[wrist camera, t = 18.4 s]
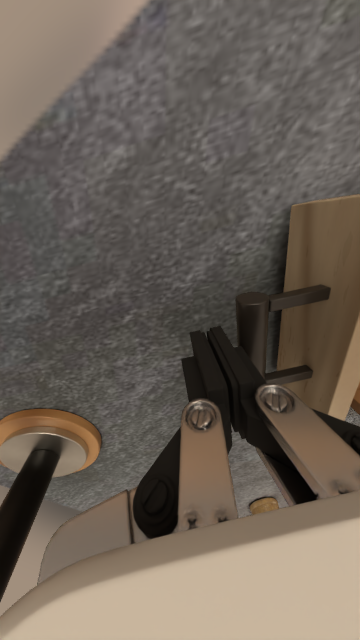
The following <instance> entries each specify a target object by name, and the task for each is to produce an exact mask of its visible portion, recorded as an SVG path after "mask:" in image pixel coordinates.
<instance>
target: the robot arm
mask: <svg viewBox="0 0 360 640" xmlns="http://www.w3.org/2000/svg"><path fill="white" fill-rule="evenodd" d="M190 337H191V342H192V348H193V353H194V356H193V357H188V358H183V359H181V360H182V366H183V371H184V377H185V382H186V388H187V393H188V399H189V403H188V404H187V405H186V406H185V407H184V409H183V411H182V416H181V427H180V428H179V430H178V431H177V432H176V434H175V435H174V436H173V438H172V439H171V440H170V442H169V443H168V445H167V446H166V447H165V449H164V450H163V451H162V453H161V454H160V455H159V457H158V458H157V460H156V461H155V462H154V464H153V465H152V466H151V468H150V469H149V471H148V472H147V473H146V475H145V476H144V477H143V479H142V480H141V482H140V483H139V485H138V487H136V488H134V489H132V490H130V491H128V490H127V489H126V490H124V491H122V492H120V493H118V494H117V495H115V496H113V497H111V498H109V499H107V500H105V501H103V502H101V503H99V504H98V505H96V506H94V507H92V508H90V509H88V510H86V511H84V512H82V513H81V514H79V515H77V516H75V517H73V518H71V519H69V520H68V521H66V522H65V523H64V524H63V525H61V526H60V527H59V529H58V530H57V531H56V532H55V533H54V535H53V536H52V538H51V540H50V542H49V543H48V545H47V547H46V550H45V553H44V556H43V559H42V563H41V568H40V573H39V578H38V583H37V586H36V587H34V588H33V589H31V590H30V591H29V592H28V593H26V594H25V595H24V596H23V597H22V598H20V599H19V600H18V601H17V602H16V603H14V605H12V606H11V607H10V608H9V609H8V610H7V611H6V612H5V613H4V614H3V615H2V616H1V617H0V640H360V427H358V426H356V425H353V424H351V423H348V422H346V421H343V420H340V419H338V418H335V417H333V416H330V415H328V414H325V413H322V412H320V411H317V410H315V409H312V408H309V407H308V406H307V405H306V404H305V403H304V402H303V401H302V400H301V399H300V398H299V397H298V396H297V395H296V394H295V393H294V392H293V391H291V390H290V389H289V388H287V387H285V386H283V385H280V384H276V383H267V382H266V381H265V379H264V378H263V377H262V375H261V374H260V372H259V371H258V369H257V368H256V366H255V365H254V364H253V362H252V361H251V359H250V358H249V356H248V355H247V354H246V352H245V351H244V349H243V348H242V347H241V346H239V347H233V346H232V344H231V342H230V341H229V339H228V338H227V336H226V334H225V333H224V331H223V330H222V328H221V327H220V326H217V327H213V328H210V331H207V338H206V335H205V333H204V332H202V333H201V332H200V330H199V331H194V332H190ZM207 339H208V340H207ZM231 424H232V427H233V429H234V431H235V432H238V431H239V433H240V436H241V438H242V439H245V438H246V440H247V442H248V443H250V444H251V445H253V446H255V448H256V451H257V453H258V455H259V456H260V458H261V460H262V461H263V463H264V465H265V466H266V468H267V470H268V472H269V473H270V475H271V477H272V478H273V480H274V482H275V483H276V485H277V487H278V488H279V490H280V492H281V493H282V495H283V497H284V499H285V500H286V502H287V504H288V505H289V507H285V508H280V509H276V510H272V511H267V512H263V513H259V514H254V515H250V516H246V517H241V518H238V513H237V507H236V501H235V495H234V489H233V483H232V477H231V472H230V466H229V460H228V454H229V451H230V449H231V447H232V436H231V433H232V431H231Z"/></svg>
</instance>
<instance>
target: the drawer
mask: <svg viewBox="0 0 360 640" xmlns="http://www.w3.org/2000/svg"><path fill="white" fill-rule="evenodd" d="M278 310H282V317H281V328H280V339H279V351H278V362H277V371H274V372H270V373H265V370H266V350H267V331H268V311H269V312H273V311H278ZM236 322H237V346H238V347H239V346H241V347H242V348H243V349H244V351H245V352H246V354H247V355H248V356H249V358H250V359H251V361H252V362H253V364H254V365H255V366H256V368H257V369H258V371H259V372H260V374H261V375H262V377H263V378H264V379H265V381H266V382H267V383H276V384H280V385H283V386H285V387H287V388H289V389H290V390H291V391H293V392H294V393H295V394H296V395H297V396H298V397H299V398H300V399H301V400H302V401H303V402H304V403H305V404H306V405H307V406H308V407H309V408H312V409H315V410H317V411H320V412H322V413H325V414H328V415H330V416H333V417H335V418H338V419H340V420H343V421H345V418H346V415H347V413H348V410H349V408H350V407H352V408H353V409H354V410H355V411H356V412H357V413H358V414H359V415H360V194H355V195H348V196H342V197H335V198H329V199H322V200H316V201H310V202H305V203H301V204H296V205H292V206H291V217H290V228H289V239H288V250H287V261H286V272H285V284H284V292H283V293H278V294H274V295H269V296H268V295H266V294H264V293H260V292H247V293H243V294H240V295H238V296H237V297H236Z"/></svg>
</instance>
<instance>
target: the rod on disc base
mask: <svg viewBox="0 0 360 640" xmlns="http://www.w3.org/2000/svg"><path fill="white" fill-rule="evenodd" d="M87 456H88V446H87V444H86V442H85V441H84V440H83V439H82V438H81V437H79V436H78V435H76V434H74V433H72V432H70V431H67V430H64V429H60V428H56V427H46V426H37V427H29V428H24V429H21V430H18V431H16V432H14V433H12V434H11V435H9V436H8V437H7V438H6V439H5V441H4V442H3V443H2V445H1V446H0V460H1V462H2V463H3V464H4V465H5V466H6V467H8V468H9V469H11V470H13V471H15V472H17V473H19V474H18V476H17V477H16V479H15V481H14V483H13V485H12V486H11V488H10V490H9V492H8V494H7V496H6V497H5V499H4V501H3V503H2V505H1V506H0V602H1V599H2V597H3V594H4V592H5V590H6V587H7V585H8V582H9V580H10V577H11V575H12V572H13V570H14V568H15V565H16V563H17V561H18V558H19V556H20V553H21V551H22V548H23V546H24V544H25V541H26V539H27V537H28V534H29V532H30V529H31V527H32V524H33V522H34V520H35V517H36V515H37V512H38V510H39V508H40V505H41V503H42V500H43V498H44V496H45V493H46V491H47V488H48V486H49V483H50V481H51V479H52V477H59V476H64V475H68V474H71V473H73V472H75V471H77V470H79V469H80V468H81V467H82V466H83V465H84V464H85V462H86V459H87Z"/></svg>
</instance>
